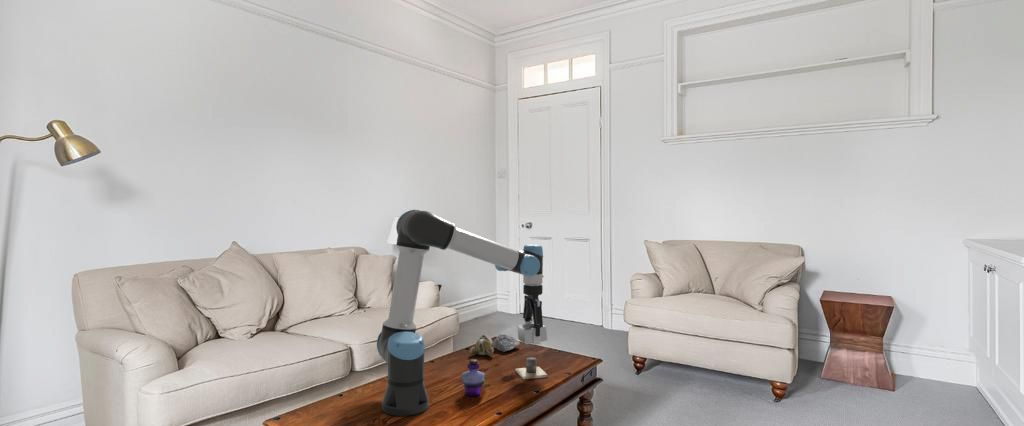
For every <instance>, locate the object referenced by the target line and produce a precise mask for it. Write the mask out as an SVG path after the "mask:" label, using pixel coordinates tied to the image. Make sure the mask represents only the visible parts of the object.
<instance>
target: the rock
mask: <svg viewBox="0 0 1024 426" xmlns="http://www.w3.org/2000/svg"><path fill="white" fill-rule="evenodd" d="M493 343H494V345H493V348H494V349H496V350H498V351H502V352H503V353H504V352H507V351H510V350H513V349H514V348H516V347H518V346H519V345H520V344H521V341H520V340H517V339H516V338H514V337H513V336H511V335H507V334H500V333H499V334H498V336H496V337H495V339H494V340H493Z"/></svg>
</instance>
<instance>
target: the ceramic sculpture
mask: <svg viewBox="0 0 1024 426" xmlns="http://www.w3.org/2000/svg"><path fill="white" fill-rule="evenodd" d="M493 345H494V340H493V339H492V338H491V336H490V335H488V334H487V333H485V334H484V335H481V336H480V337H479V338H478V339H477V341H476V342H475V345H474V346H472V347H471V348H470V349H469V355H471V356H476V355H480V356H488V357H490V356H491V357H492V356H493V355H494V352H495V347H493Z"/></svg>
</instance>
